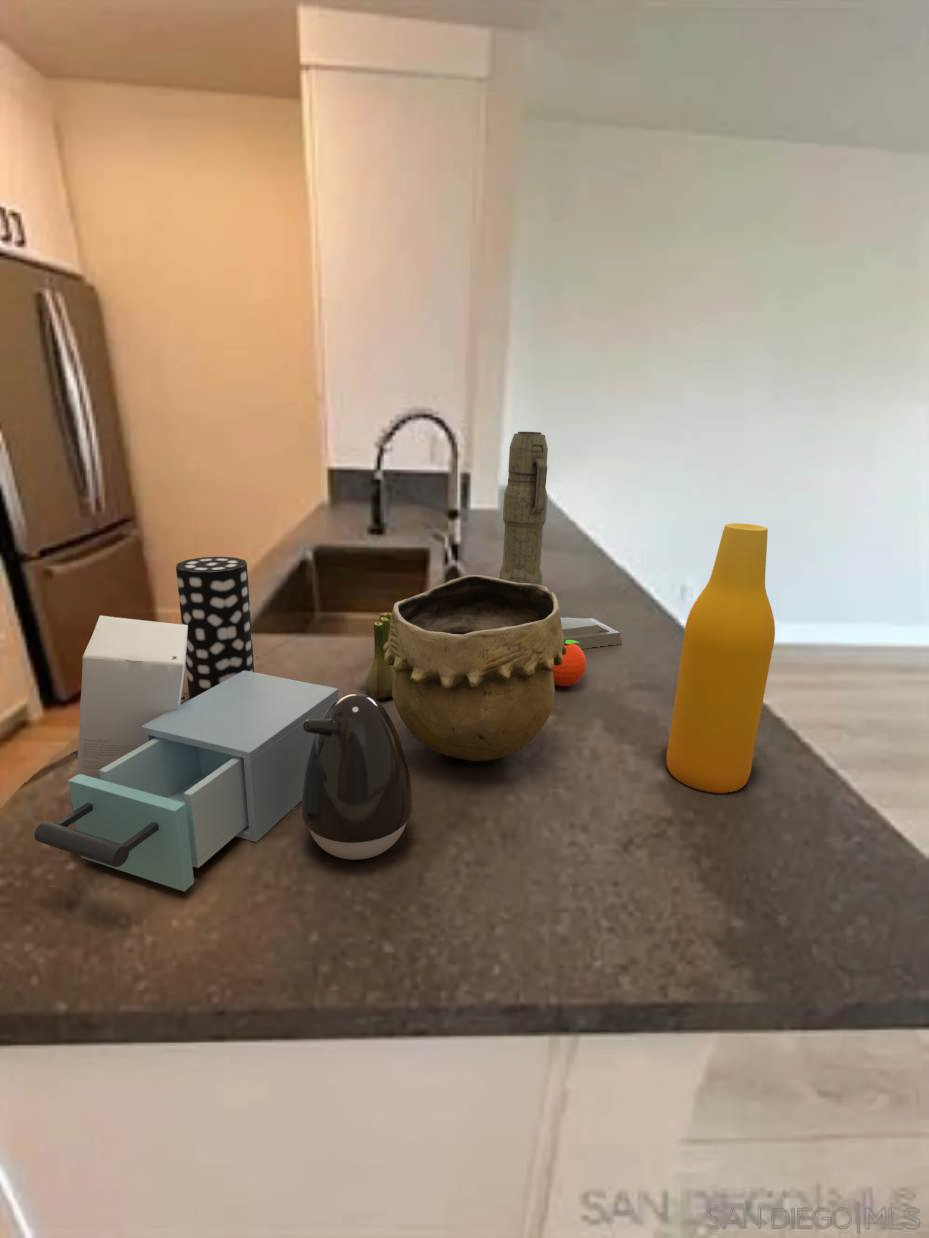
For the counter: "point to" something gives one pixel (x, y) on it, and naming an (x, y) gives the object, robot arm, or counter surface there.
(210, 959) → the counter surface
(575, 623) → the soap mold
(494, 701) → the clay pot
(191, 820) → the mint green drawer
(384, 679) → the fennel bulb
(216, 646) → the white-spotted black cylinder
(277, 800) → the small drawer unit
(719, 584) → the beer bottle
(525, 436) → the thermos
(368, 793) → the pump dispenser
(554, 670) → the clementine
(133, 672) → the rectangular carton
